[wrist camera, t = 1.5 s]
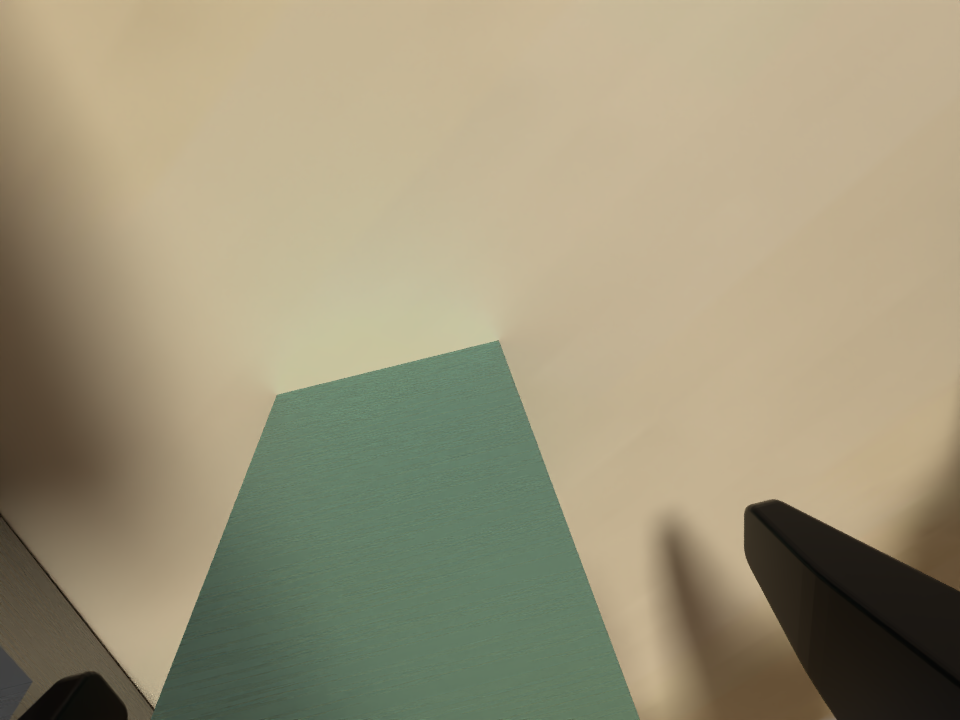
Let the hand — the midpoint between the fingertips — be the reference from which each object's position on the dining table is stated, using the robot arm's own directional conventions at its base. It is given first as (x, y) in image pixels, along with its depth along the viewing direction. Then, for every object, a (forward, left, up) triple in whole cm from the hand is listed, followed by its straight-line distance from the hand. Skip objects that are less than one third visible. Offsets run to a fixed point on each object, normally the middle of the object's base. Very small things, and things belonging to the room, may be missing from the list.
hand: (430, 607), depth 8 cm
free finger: (0, 0, -4) cm, 4 cm away
